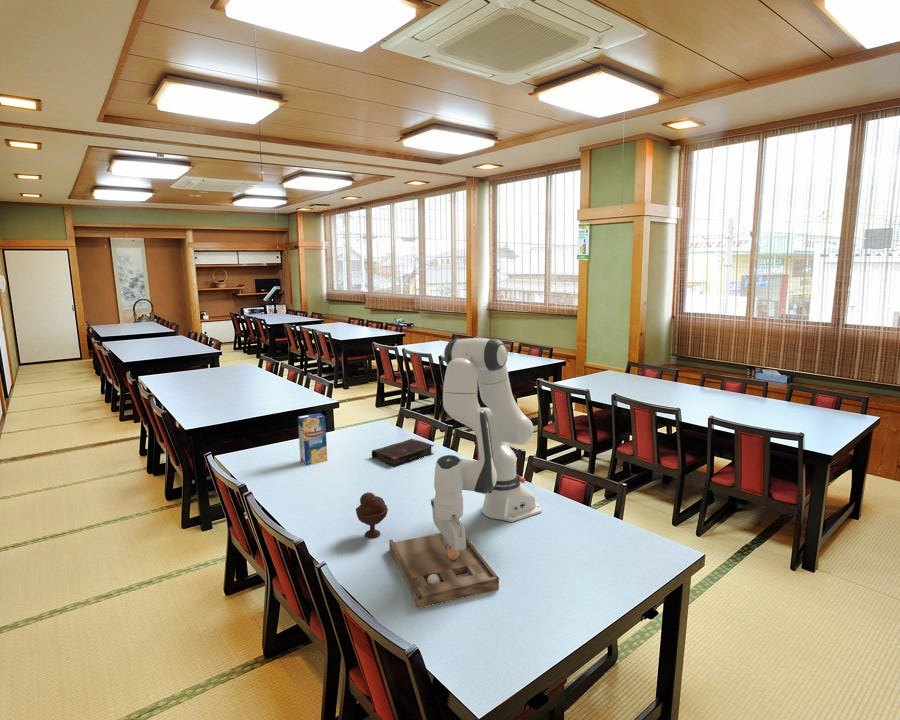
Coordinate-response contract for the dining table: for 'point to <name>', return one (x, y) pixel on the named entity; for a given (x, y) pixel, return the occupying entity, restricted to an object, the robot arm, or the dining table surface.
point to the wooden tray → (441, 570)
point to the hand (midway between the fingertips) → (449, 550)
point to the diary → (403, 452)
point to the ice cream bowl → (371, 513)
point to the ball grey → (433, 579)
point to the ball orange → (452, 554)
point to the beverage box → (312, 439)
